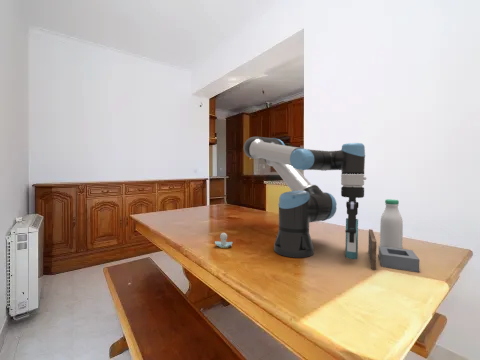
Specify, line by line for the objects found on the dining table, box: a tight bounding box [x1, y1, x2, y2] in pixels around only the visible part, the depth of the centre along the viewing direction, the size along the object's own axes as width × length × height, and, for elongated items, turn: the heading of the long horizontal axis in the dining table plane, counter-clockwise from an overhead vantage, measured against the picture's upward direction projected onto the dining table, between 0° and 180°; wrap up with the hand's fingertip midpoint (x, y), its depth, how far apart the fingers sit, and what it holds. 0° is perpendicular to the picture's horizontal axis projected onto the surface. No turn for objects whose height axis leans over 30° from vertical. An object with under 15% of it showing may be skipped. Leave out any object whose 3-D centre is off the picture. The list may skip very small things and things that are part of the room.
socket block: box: [378, 245, 420, 273], centre depth 78 cm, size 10×10×4 cm
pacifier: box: [214, 232, 233, 249], centre depth 96 cm, size 7×6×6 cm
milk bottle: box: [379, 198, 404, 249], centre depth 95 cm, size 8×8×20 cm
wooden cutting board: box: [367, 229, 378, 271], centre depth 82 cm, size 1×18×9 cm, turn 154°
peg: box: [344, 217, 359, 260], centre depth 84 cm, size 4×4×14 cm
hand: (351, 247), depth 85 cm, fingers open, 10 cm apart
